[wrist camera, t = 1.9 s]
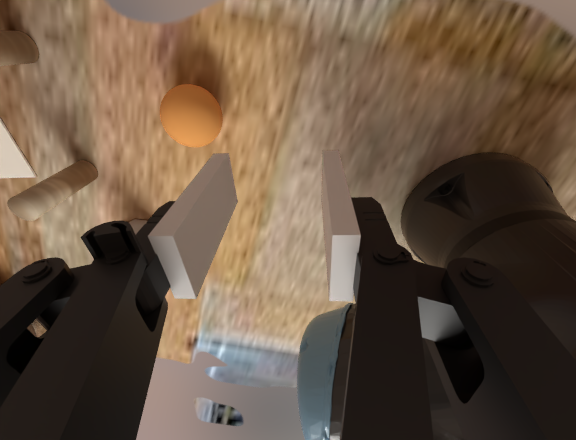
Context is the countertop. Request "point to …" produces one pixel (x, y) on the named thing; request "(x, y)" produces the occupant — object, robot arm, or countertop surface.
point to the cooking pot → (31, 329)
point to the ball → (191, 115)
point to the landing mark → (12, 157)
